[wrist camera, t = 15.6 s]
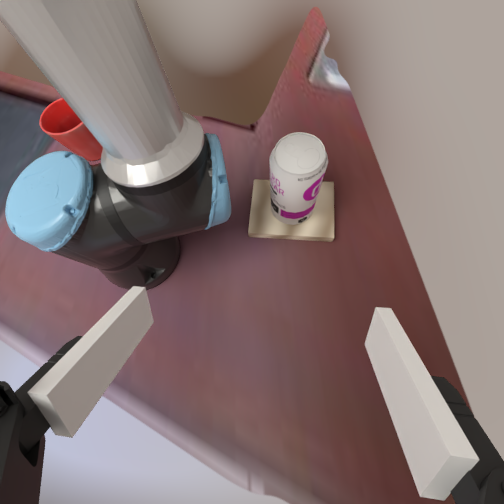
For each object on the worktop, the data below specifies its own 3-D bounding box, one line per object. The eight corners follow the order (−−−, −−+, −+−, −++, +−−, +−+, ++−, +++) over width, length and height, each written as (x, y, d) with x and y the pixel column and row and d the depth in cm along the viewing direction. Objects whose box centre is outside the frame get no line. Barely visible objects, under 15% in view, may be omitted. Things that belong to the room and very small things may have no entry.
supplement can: (321, 202, 46) (342, 145, 32) (296, 234, 45) (306, 188, 31) (287, 182, 49) (292, 120, 34) (262, 211, 47) (257, 158, 33)
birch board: (249, 236, 48) (248, 232, 46) (254, 184, 51) (254, 179, 49) (331, 241, 46) (334, 237, 44) (331, 187, 50) (333, 181, 48)
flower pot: (96, 124, 61) (65, 88, 52) (126, 141, 59) (99, 106, 49) (66, 154, 59) (28, 121, 50) (96, 173, 56) (61, 142, 47)
